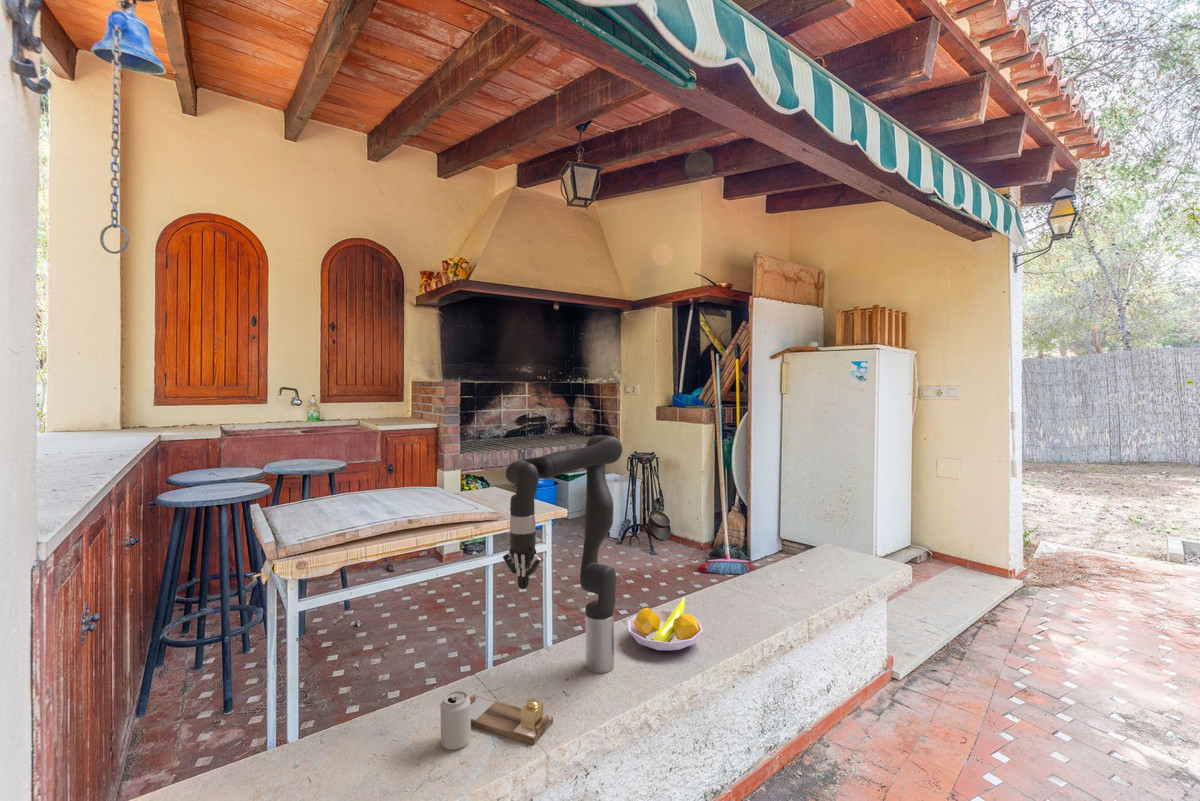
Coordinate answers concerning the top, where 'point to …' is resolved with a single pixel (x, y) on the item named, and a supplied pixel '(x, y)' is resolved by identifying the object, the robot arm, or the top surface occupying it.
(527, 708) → the brass knob
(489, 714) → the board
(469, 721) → the can
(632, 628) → the fruit bowl
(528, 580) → the robot arm
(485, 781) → the top surface
